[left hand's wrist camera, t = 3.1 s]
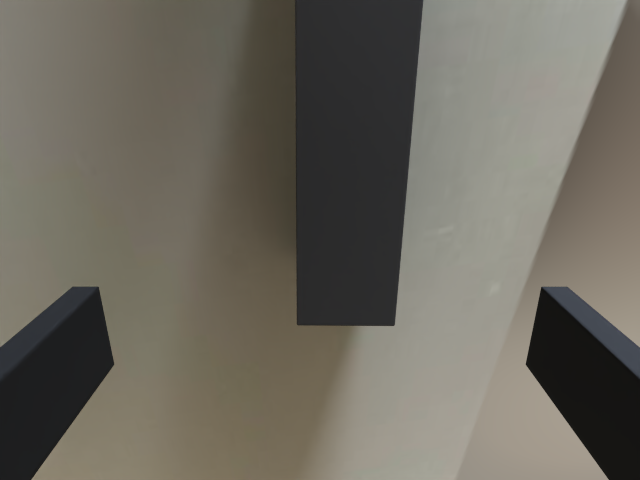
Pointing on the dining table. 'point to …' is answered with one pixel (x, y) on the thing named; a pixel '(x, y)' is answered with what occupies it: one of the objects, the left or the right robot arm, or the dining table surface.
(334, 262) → the bar
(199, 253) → the dining table surface
